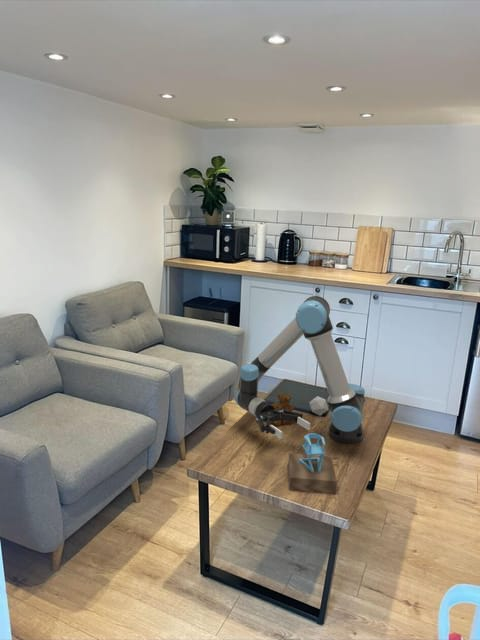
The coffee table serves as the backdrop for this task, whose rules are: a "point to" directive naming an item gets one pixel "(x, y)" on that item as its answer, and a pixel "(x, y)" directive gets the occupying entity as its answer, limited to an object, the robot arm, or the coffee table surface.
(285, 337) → the robot arm
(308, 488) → the wooden square box
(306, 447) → the chair
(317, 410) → the die
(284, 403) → the stuffed squirrel
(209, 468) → the coffee table surface
